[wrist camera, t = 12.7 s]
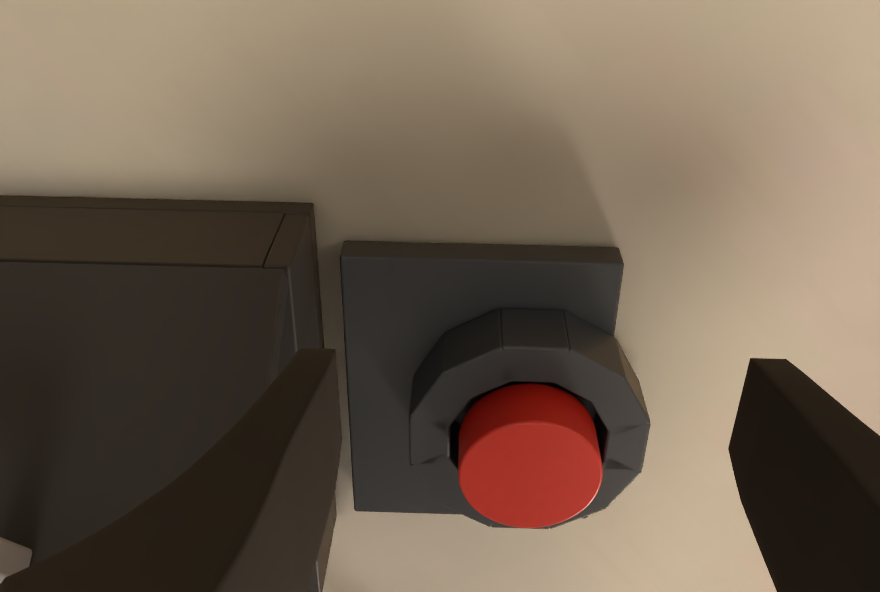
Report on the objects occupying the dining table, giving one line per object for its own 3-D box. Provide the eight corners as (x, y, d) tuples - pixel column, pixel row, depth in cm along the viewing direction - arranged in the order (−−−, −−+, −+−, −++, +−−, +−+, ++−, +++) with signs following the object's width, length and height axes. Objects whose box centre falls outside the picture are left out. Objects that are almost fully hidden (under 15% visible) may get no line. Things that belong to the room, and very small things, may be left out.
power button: (587, 488, 26) (594, 531, 24) (457, 484, 26) (456, 526, 24) (602, 383, 24) (611, 424, 22) (460, 379, 24) (459, 420, 22)
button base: (611, 498, 30) (625, 566, 27) (357, 491, 30) (346, 557, 27) (652, 247, 24) (673, 302, 22) (343, 239, 25) (329, 292, 22)
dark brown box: (336, 515, 30) (321, 600, 27) (-31, 503, 31) (-88, 586, 28) (313, 202, 24) (289, 266, 21) (-151, 191, 24) (-244, 252, 21)
